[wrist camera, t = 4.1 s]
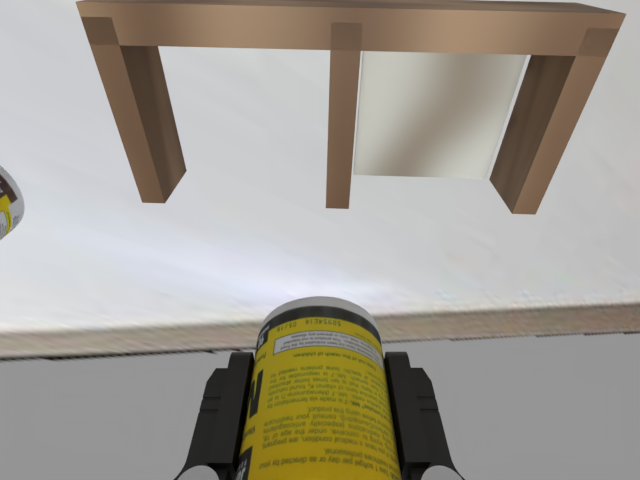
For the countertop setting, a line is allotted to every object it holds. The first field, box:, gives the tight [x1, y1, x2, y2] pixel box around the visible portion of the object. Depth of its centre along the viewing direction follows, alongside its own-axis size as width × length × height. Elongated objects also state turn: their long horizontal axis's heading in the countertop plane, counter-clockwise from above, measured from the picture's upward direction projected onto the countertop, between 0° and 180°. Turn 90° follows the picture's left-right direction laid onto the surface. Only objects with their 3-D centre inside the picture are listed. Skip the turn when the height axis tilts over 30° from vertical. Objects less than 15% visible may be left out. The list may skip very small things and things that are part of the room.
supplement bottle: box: [235, 296, 402, 480], centre depth 11 cm, size 5×5×8 cm
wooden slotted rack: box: [76, 0, 626, 215], centre depth 15 cm, size 17×7×3 cm, turn 89°
